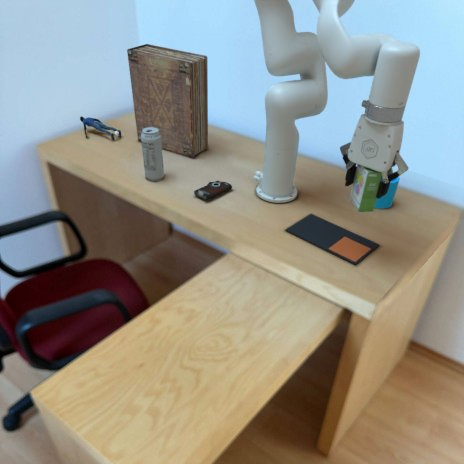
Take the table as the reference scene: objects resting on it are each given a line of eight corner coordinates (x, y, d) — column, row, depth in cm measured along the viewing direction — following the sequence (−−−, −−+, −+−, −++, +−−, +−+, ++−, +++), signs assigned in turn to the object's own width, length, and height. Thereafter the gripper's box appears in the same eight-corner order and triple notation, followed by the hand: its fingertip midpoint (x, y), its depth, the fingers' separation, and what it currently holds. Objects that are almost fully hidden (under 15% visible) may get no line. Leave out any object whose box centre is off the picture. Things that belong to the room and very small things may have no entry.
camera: (192, 187, 131) (217, 176, 137) (192, 196, 133) (217, 185, 139) (207, 193, 128) (232, 181, 134) (207, 202, 129) (232, 190, 136)
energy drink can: (168, 177, 141) (164, 130, 131) (153, 183, 137) (148, 135, 127) (156, 171, 144) (151, 124, 134) (141, 177, 140) (135, 129, 130)
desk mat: (285, 231, 120) (285, 229, 119) (310, 215, 126) (311, 213, 126) (355, 265, 109) (355, 263, 109) (378, 246, 116) (379, 244, 115)
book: (208, 150, 158) (208, 56, 137) (193, 158, 152) (190, 62, 131) (154, 133, 167) (145, 43, 147) (137, 141, 161) (126, 48, 141)
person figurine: (128, 139, 166) (91, 122, 171) (127, 127, 163) (90, 110, 168) (108, 148, 159) (70, 130, 164) (108, 136, 156) (69, 118, 160)
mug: (393, 210, 130) (401, 184, 125) (365, 206, 131) (371, 181, 125) (389, 191, 139) (397, 166, 133) (363, 188, 140) (369, 163, 134)
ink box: (348, 197, 108) (361, 143, 98) (364, 197, 108) (378, 143, 99) (357, 212, 102) (371, 156, 93) (373, 212, 103) (389, 156, 94)
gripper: (338, 105, 93) (324, 183, 105) (416, 128, 84) (390, 209, 96) (357, 98, 97) (341, 173, 109) (432, 118, 89) (406, 197, 100)
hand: (364, 189), depth 103 cm, fingers closed on ink box, 7 cm apart
